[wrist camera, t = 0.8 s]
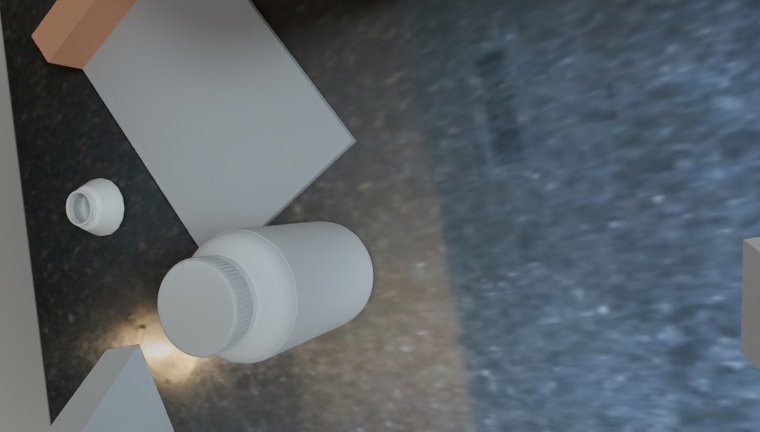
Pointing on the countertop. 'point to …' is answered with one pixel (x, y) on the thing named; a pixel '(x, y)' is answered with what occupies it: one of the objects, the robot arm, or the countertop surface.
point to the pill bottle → (264, 290)
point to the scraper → (202, 103)
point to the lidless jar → (96, 207)
